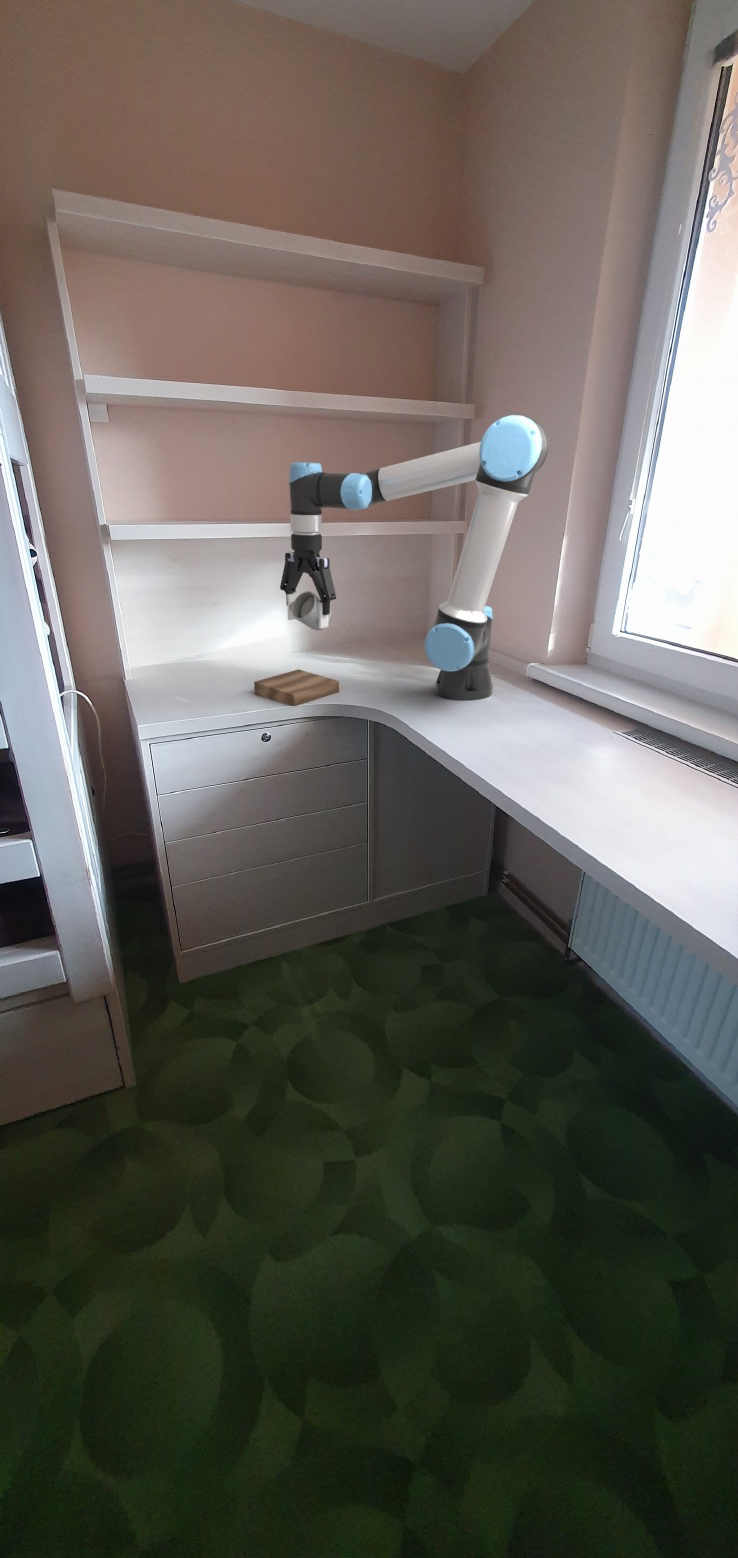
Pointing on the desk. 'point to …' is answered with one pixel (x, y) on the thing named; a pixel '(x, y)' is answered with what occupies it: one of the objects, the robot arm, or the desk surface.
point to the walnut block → (296, 687)
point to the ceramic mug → (307, 610)
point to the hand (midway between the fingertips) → (307, 623)
